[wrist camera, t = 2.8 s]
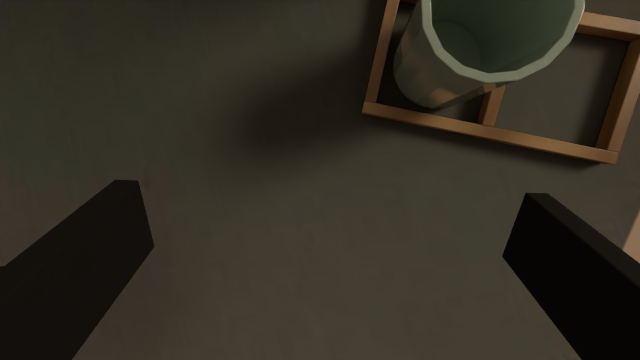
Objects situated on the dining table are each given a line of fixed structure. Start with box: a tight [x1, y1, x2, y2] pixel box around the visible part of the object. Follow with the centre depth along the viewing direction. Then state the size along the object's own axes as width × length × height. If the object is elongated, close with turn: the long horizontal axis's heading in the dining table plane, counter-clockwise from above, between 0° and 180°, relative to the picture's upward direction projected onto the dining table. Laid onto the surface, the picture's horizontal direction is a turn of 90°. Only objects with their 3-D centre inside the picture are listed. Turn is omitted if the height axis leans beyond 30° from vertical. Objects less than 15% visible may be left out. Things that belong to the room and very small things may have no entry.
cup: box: [393, 0, 585, 108], centre depth 22 cm, size 8×8×12 cm
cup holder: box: [362, 0, 640, 165], centre depth 27 cm, size 21×11×2 cm, turn 78°
